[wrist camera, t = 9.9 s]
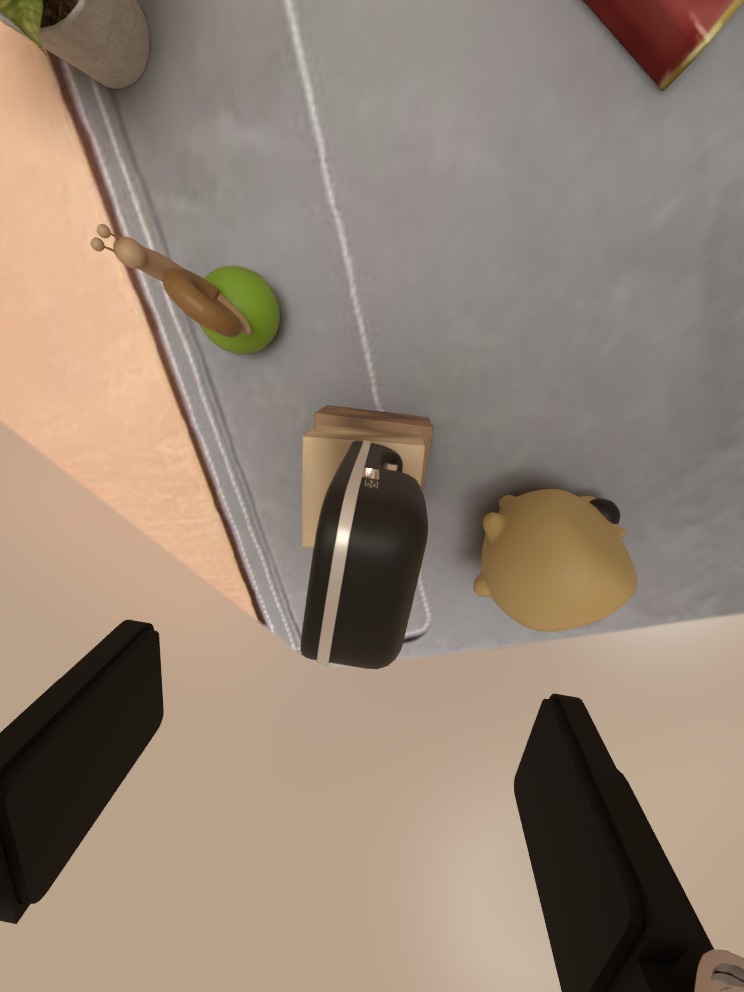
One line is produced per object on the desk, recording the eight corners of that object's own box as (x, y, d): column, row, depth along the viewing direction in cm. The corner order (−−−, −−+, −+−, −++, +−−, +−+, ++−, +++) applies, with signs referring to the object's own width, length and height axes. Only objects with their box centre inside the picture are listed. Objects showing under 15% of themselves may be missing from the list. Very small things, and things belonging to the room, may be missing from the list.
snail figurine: (230, 248, 28) (117, 173, 17) (303, 309, 29) (241, 277, 18) (192, 313, 30) (66, 284, 19) (262, 369, 31) (183, 375, 20)
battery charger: (395, 555, 25) (400, 702, 14) (335, 544, 25) (292, 683, 14) (418, 446, 23) (446, 518, 12) (352, 434, 23) (318, 496, 12)
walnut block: (427, 417, 31) (433, 427, 27) (413, 511, 34) (415, 535, 29) (327, 405, 32) (315, 412, 27) (320, 499, 34) (308, 521, 29)
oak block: (420, 432, 27) (424, 445, 23) (411, 527, 29) (412, 556, 25) (317, 424, 27) (302, 436, 23) (316, 519, 29) (302, 546, 25)
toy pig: (514, 559, 39) (639, 612, 32) (440, 608, 31) (586, 694, 24) (536, 461, 35) (682, 497, 28) (459, 488, 27) (636, 548, 20)
